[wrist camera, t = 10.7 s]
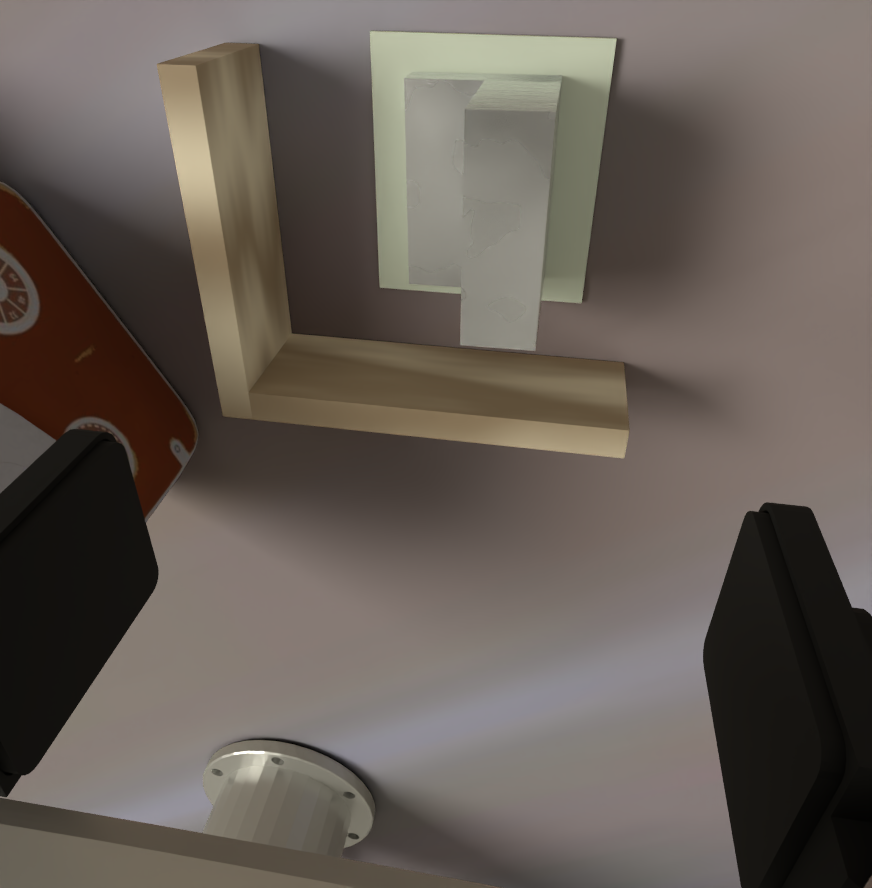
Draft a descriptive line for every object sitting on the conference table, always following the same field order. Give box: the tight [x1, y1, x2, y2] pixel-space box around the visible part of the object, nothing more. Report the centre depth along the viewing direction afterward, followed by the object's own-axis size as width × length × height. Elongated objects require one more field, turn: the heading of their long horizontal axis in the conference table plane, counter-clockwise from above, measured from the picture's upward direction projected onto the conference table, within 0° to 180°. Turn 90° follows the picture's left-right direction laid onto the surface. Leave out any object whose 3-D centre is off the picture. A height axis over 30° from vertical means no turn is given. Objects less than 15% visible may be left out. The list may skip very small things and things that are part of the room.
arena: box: [157, 43, 629, 458], centre depth 26 cm, size 12×15×5 cm
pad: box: [370, 31, 617, 303], centre depth 26 cm, size 9×8×1 cm
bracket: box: [404, 71, 562, 351], centre depth 24 cm, size 5×7×6 cm
